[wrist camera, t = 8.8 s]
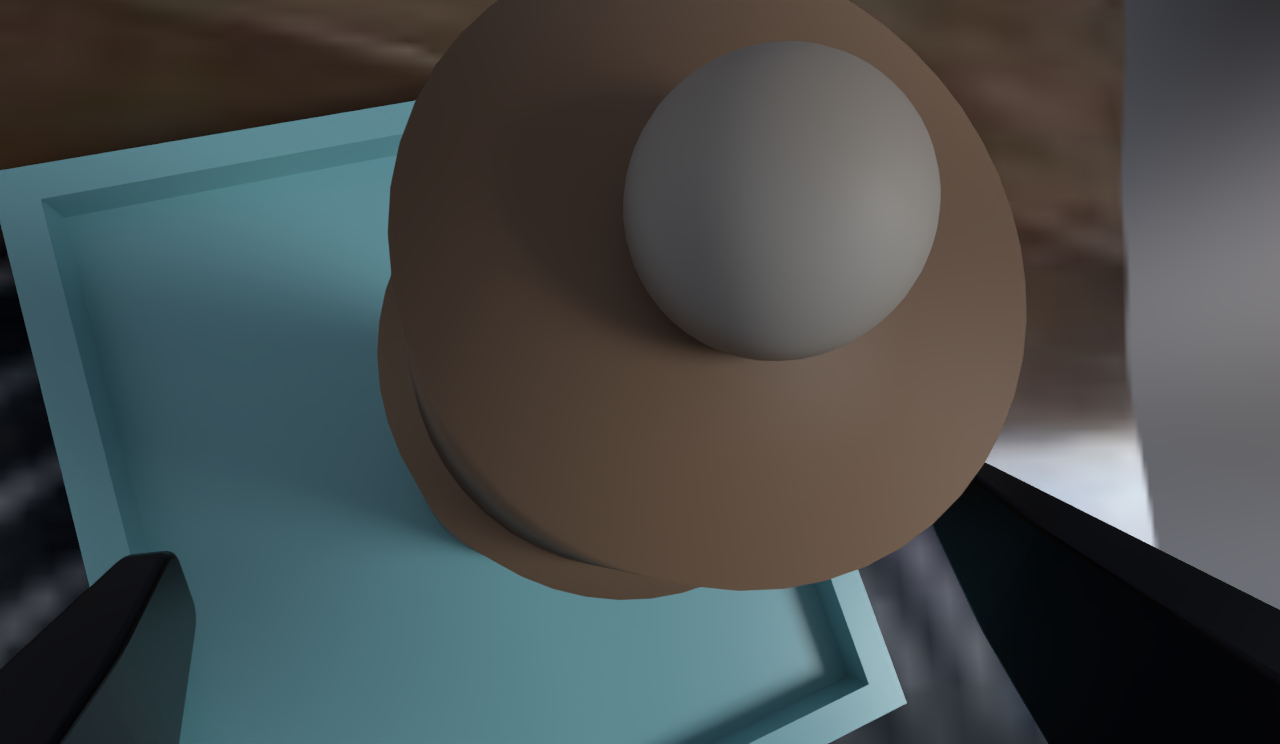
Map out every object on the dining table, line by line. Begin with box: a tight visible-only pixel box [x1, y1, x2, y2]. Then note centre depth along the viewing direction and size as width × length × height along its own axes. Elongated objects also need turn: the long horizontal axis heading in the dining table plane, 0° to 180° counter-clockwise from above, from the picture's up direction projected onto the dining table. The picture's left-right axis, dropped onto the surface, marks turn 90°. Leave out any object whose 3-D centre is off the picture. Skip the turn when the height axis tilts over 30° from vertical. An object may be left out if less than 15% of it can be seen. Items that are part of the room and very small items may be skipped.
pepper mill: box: [377, 0, 1026, 600], centre depth 11 cm, size 5×5×15 cm
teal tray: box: [0, 101, 907, 744], centre depth 18 cm, size 18×16×2 cm
